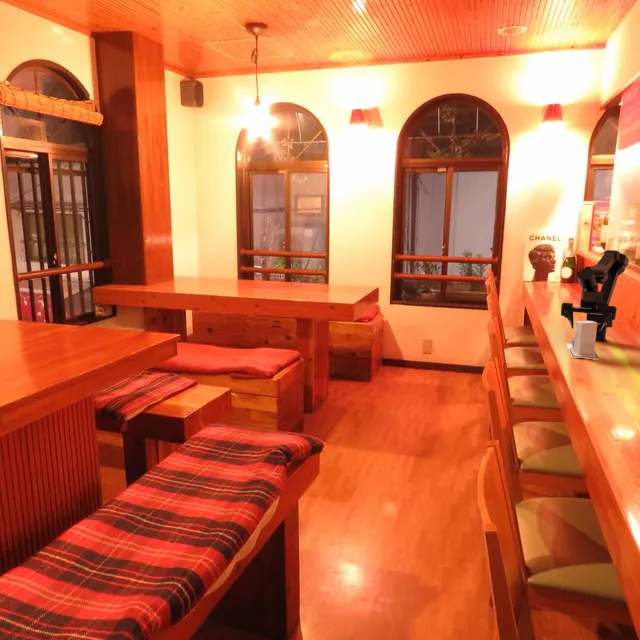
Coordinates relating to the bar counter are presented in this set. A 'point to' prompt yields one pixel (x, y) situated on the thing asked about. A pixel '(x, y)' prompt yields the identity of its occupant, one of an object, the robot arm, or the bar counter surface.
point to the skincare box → (585, 337)
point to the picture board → (573, 354)
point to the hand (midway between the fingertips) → (586, 329)
